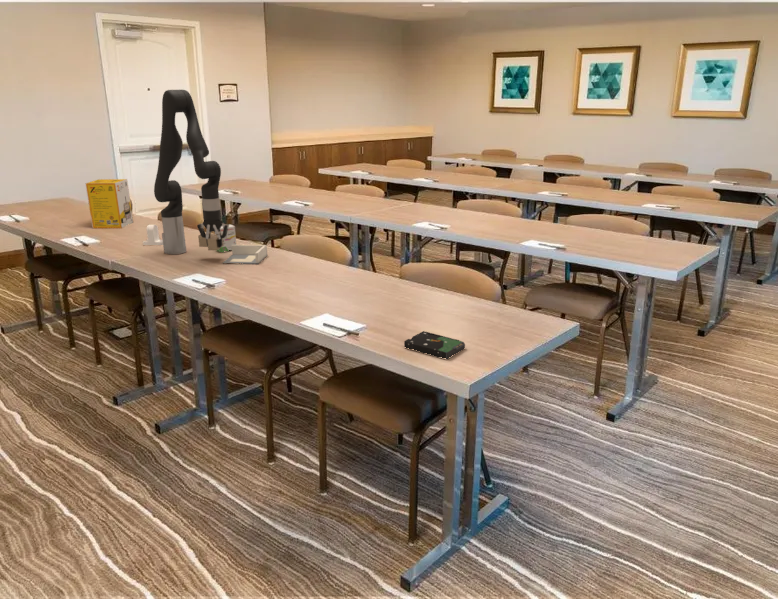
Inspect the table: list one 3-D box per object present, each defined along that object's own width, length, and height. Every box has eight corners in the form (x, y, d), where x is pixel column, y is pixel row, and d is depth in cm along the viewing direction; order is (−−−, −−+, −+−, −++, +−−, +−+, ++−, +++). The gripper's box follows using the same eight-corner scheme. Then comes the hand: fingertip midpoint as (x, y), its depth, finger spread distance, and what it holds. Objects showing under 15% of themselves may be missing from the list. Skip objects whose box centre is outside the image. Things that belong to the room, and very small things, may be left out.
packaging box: (105, 222, 362) (98, 179, 354) (133, 222, 362) (127, 179, 354) (92, 228, 347) (85, 183, 339) (121, 228, 346) (115, 183, 339)
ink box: (220, 253, 291) (218, 228, 287) (216, 251, 295) (213, 226, 291) (237, 250, 296) (235, 225, 292) (232, 248, 300) (230, 224, 296)
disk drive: (403, 350, 182) (447, 361, 173) (403, 341, 181) (447, 352, 173) (422, 339, 190) (465, 349, 181) (422, 330, 189) (465, 340, 181)
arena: (222, 263, 272) (221, 252, 271) (233, 255, 287) (232, 244, 285) (258, 264, 271) (257, 253, 270) (267, 255, 285) (266, 245, 284)
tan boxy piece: (217, 250, 272) (216, 239, 270) (194, 249, 272) (193, 238, 271) (223, 245, 280) (222, 234, 279) (202, 244, 281) (201, 233, 279)
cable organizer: (147, 243, 312) (145, 223, 308) (166, 243, 311) (164, 223, 308) (142, 245, 307) (139, 225, 303) (162, 246, 306) (159, 226, 303)
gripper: (192, 209, 266) (196, 248, 272) (224, 210, 265) (228, 249, 271) (198, 206, 273) (202, 244, 279) (230, 207, 272) (233, 245, 278)
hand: (214, 246), depth 275 cm, fingers closed on tan boxy piece, 4 cm apart
